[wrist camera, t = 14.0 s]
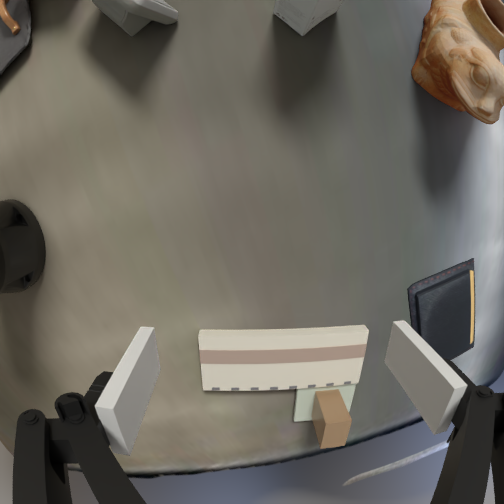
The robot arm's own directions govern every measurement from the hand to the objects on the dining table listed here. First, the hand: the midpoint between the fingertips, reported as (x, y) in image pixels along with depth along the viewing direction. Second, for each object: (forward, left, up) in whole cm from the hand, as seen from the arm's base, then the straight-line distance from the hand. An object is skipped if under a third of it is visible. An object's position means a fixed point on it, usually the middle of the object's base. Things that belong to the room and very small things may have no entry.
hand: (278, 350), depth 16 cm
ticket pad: (+4, -18, -27) cm, 33 cm away
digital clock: (-18, +36, -27) cm, 48 cm away
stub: (+12, -28, -27) cm, 40 cm away
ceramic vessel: (+31, +31, -27) cm, 51 cm away
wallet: (+34, -14, -28) cm, 46 cm away
